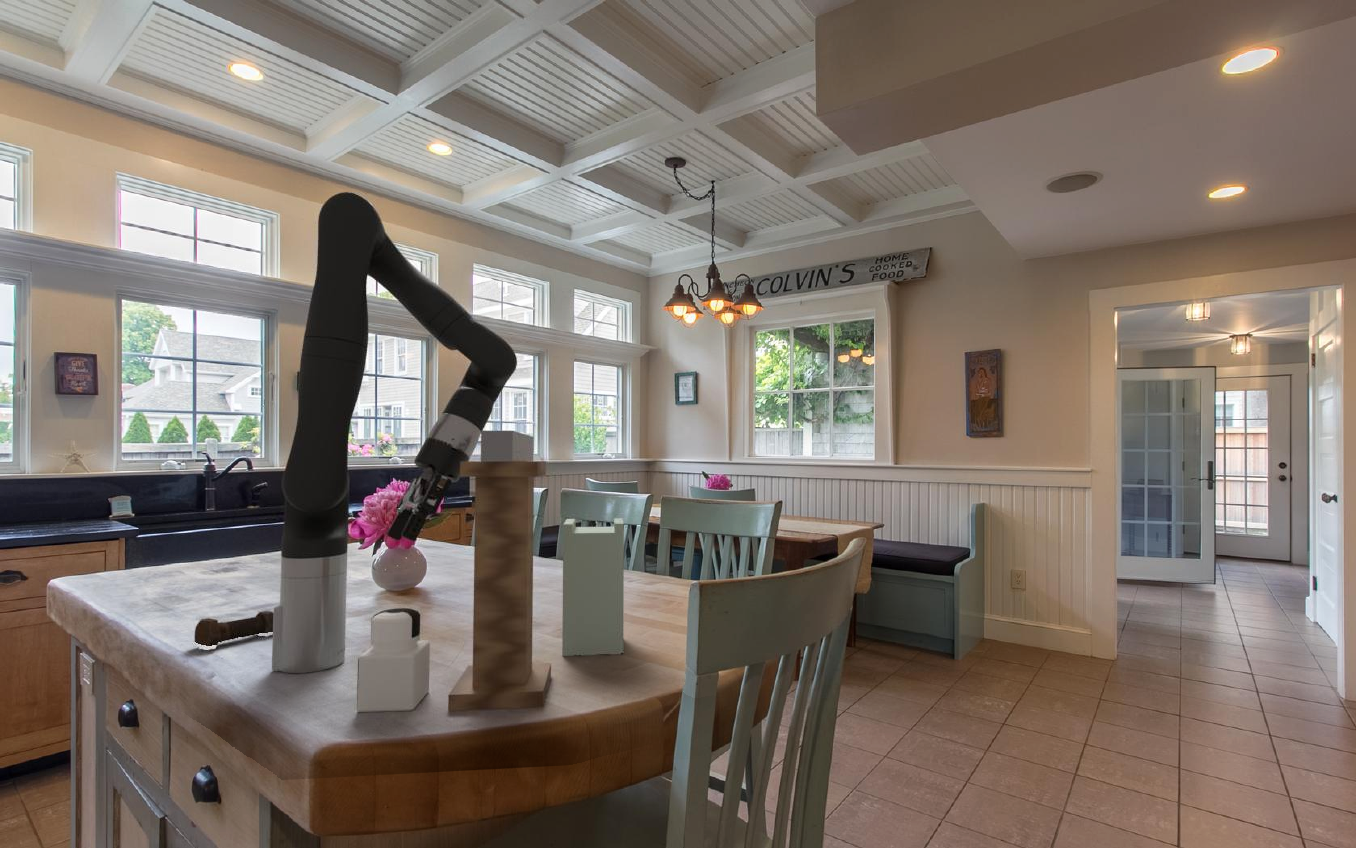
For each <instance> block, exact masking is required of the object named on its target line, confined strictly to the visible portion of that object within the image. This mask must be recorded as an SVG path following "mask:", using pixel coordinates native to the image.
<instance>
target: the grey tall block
mask: <svg viewBox="0 0 1356 848" xmlns="http://www.w3.org/2000/svg"><path fill="white" fill-rule="evenodd" d="M562 528H563V530H562V533H563V535H562V632H561V633H562V639H561V640H562V642H561V643H562V648H561V649H562V651H561V653H562V655H561V656H562V657H575V656H574V655H577V656H578V655H581V656H596V655H595V654H610V655H622V654H621V653H623V654H624V601H625V600H624V592H625V591H624V585H625V584H624V581H625V580H624V578H625V577H624V575H625V574H624V572H625V571H624V563H625V562H624V561H625V560H624V558H625V555H624V552H625V551H624V548H625V547H624V545H625V544H624V543H625V542H624V541H625V537H624V535H625V533H624V531H625V529H624V528H625V524H624V519H623V518H622V517H621V518H619V517H618V518H617V517H616V518H613V526H576V518H566V520H565V521H564V523H563V525H562Z"/></svg>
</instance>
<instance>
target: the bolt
mask: <svg viewBox="0 0 1356 848" xmlns="http://www.w3.org/2000/svg"><path fill="white" fill-rule="evenodd" d="M273 613H274V611H271V610H270V611H269V610H265V611H264V610H263V611H259V612H258V613H257V614H256V615H255V616H254V617H253V616H252V617H248V618H247V617H246V618H241V619H236V620H230V621H223V622H222V621H221V622H219V621H218V619H215V618H214V619H213V618H202V619H200V620H199V621H198V622H197V624H196V626H195V629H194V643H195V642H196V643H198V644H201V645H206V646H212V645H217V646H218V644H219V643H218V642H220V643H223V642H222V641H224V642H226V640H227V641H231V640H230V639H232V640H235V638H237V639H239V638H238V637H242V638H246V636H247V637H251V636H250V635H253V636H256V635H255V634H259V633H268V632H273Z"/></svg>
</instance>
